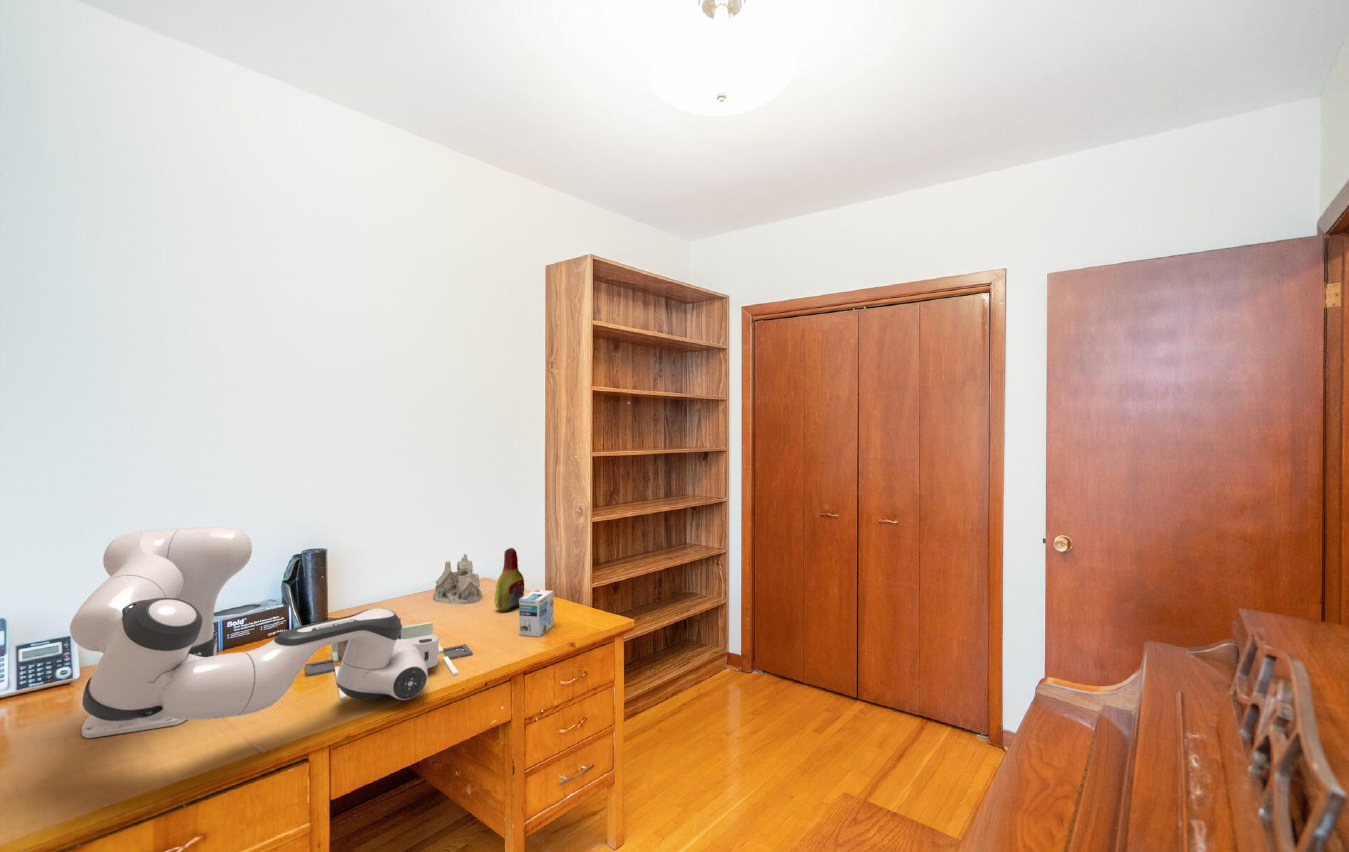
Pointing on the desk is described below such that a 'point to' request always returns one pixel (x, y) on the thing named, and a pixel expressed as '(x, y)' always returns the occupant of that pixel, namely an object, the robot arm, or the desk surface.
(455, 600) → the ceramic cottage
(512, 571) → the bottle
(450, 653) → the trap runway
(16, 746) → the desk surface
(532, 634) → the light bulb box
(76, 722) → the desk surface
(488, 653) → the desk surface
